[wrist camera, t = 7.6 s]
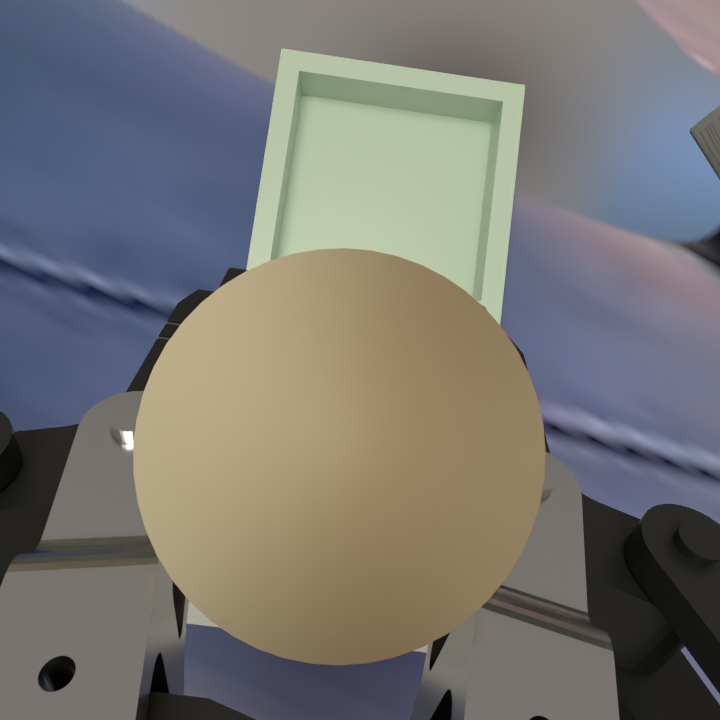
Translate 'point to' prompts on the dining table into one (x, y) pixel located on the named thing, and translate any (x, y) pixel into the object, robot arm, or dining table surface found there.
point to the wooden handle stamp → (339, 456)
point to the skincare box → (709, 138)
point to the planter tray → (391, 168)
